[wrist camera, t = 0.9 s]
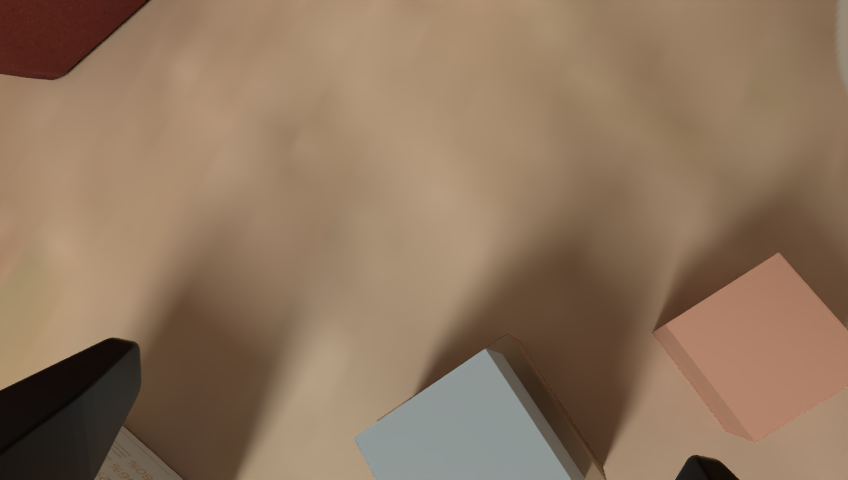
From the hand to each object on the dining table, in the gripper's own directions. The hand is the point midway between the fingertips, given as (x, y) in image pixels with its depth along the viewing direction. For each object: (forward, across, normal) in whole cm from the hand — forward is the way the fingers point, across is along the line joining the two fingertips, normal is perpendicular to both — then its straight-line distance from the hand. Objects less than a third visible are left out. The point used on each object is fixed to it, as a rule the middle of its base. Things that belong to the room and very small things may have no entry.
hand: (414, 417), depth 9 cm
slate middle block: (+8, -4, +9) cm, 13 cm away
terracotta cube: (+12, -13, +5) cm, 19 cm away
